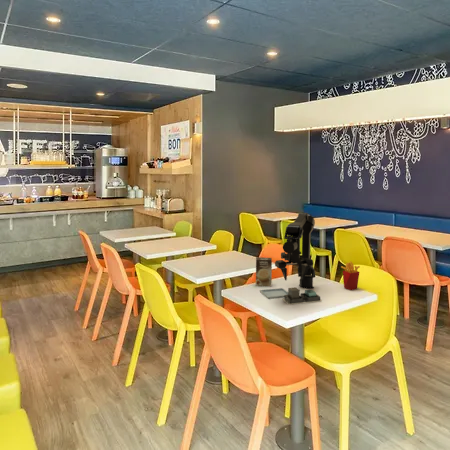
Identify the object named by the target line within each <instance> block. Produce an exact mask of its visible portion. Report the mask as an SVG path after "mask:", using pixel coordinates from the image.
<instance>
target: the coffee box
mask: <svg viewBox="0 0 450 450" xmlns="http://www.w3.org/2000/svg"><path fill="white" fill-rule="evenodd" d="M272 262H273V260H272V257H256V258H255V287H272V280H273V279H272V275H273V274H272V273H273V272H272V265H273V263H272Z"/></svg>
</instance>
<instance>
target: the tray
mask: <svg viewBox="0 0 450 450" xmlns="http://www.w3.org/2000/svg"><path fill="white" fill-rule="evenodd" d="M259 292H260V293H261V295H263V297H265V298H266V299H267V300H272V299H284V295H288V291H287V290H286V289H285V288H283V287H279V288H270V289H267V288H266V289H260V290H259Z"/></svg>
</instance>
